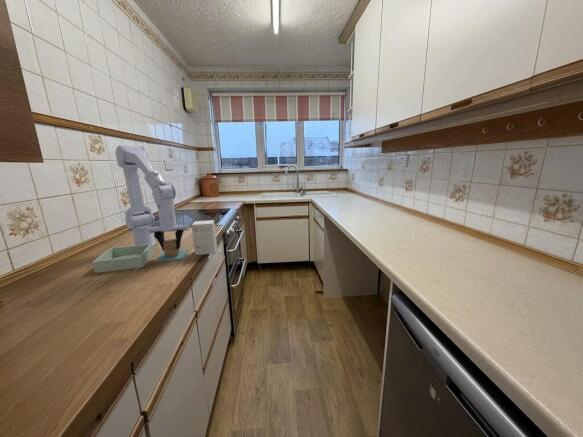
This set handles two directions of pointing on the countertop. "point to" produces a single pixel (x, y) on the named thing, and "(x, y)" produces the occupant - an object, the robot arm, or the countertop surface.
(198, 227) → the small box
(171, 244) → the walnut block
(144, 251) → the crate
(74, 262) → the countertop surface
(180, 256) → the teal mat
